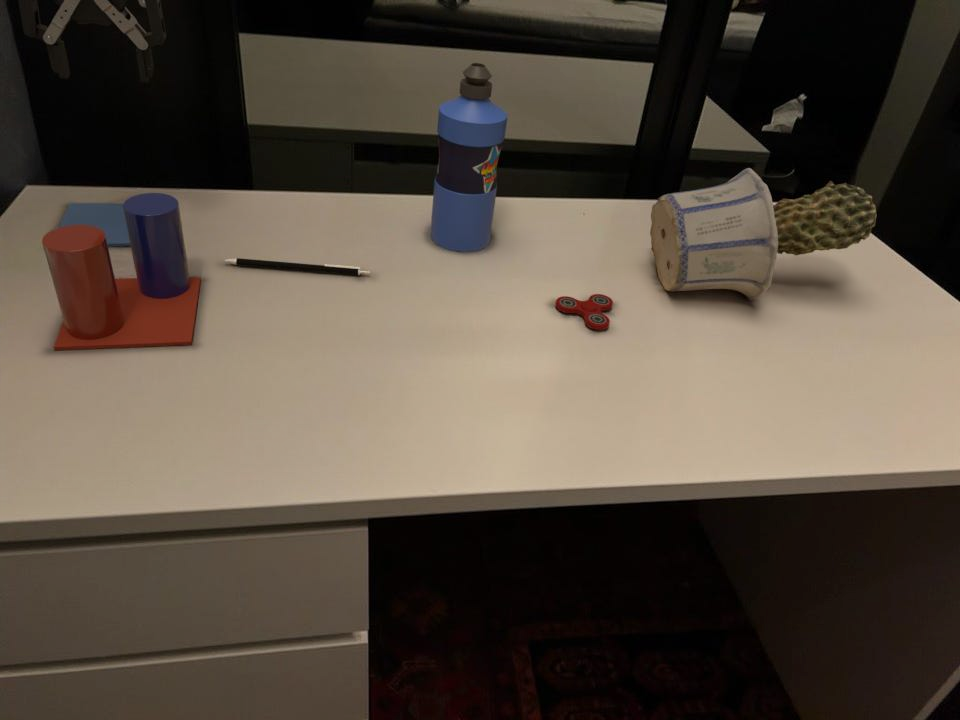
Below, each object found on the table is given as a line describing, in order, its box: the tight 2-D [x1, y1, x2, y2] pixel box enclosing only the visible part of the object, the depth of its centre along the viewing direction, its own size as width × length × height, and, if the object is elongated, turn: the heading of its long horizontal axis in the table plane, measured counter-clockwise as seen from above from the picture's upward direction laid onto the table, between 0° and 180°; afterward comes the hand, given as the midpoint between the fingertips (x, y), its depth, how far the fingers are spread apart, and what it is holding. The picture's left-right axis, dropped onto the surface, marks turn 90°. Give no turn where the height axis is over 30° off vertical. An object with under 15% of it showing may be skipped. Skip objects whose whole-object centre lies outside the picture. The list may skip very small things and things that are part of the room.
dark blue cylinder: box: [123, 192, 190, 299], centre depth 88 cm, size 6×6×11 cm
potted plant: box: [649, 167, 878, 300], centre depth 102 cm, size 18×18×30 cm
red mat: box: [53, 276, 202, 351], centre depth 87 cm, size 14×14×1 cm
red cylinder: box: [41, 225, 124, 340], centre depth 80 cm, size 6×6×11 cm
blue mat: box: [57, 202, 131, 248], centre depth 102 cm, size 12×12×1 cm
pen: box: [223, 257, 371, 276], centre depth 98 cm, size 1×19×1 cm, turn 91°
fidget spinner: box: [555, 293, 614, 331], centre depth 97 cm, size 8×7×1 cm
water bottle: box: [429, 62, 508, 253], centre depth 103 cm, size 9×9×25 cm
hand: (105, 78), depth 86 cm, fingers open, 8 cm apart
